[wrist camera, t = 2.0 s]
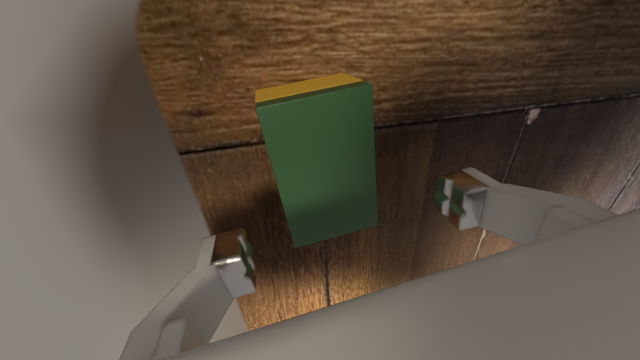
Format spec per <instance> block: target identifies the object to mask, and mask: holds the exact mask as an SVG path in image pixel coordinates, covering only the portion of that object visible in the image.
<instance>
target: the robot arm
mask: <svg viewBox="0 0 640 360" xmlns="http://www.w3.org/2000/svg"><path fill="white" fill-rule="evenodd" d="M435 187H436V188H437V190H436V191H435V193H434V198H433V201H434V204H435V207H436V208H437V210H438V211H439V212H440V213H441V214H442V215H445V216H448V217H449V221H450V222H451V223H452V224H453V225H454V226H455V227H456V228H457V229H458V230H459V231H462V230H465V229H469V228H473V227H477V226H479V227H481V228H483V229H486V230H488V231H490V232H493V233H495V234H497V235H500V236H502V237H504V238H507V239H509V240H511V241H514V242H516V243H519V244H521V245H522V246H518V247H515V248H512V249H509V250H506V251H503V252H499V253H496V254H493V255H490V256H487V257H483V258H480V259H477V260H474V261H471V262H467V263H464V264H461V265H458V266H455V267H451V268H448V269H445V270H442V271H439V272H435V273H432V274H429V275H426V276H423V277H420V278H416V279H413V280H410V281H407V282H404V283H401V284H397V285H394V286H391V287H388V288H385V289H381V290H378V291H375V292H372V293H369V294H366V295H362V296H359V297H356V298H353V299H350V300H346V301H343V302H340V303H337V304H334V305H331V306H327V307H324V308H321V309H318V310H315V311H311V312H308V313H305V314H302V315H299V316H296V317H292V318H289V319H286V320H283V321H280V322H276V323H273V324H270V325H267V326H264V327H261V328H257V329H254V330H251V331H248V332H245V333H242V334H238V335H235V336H232V337H229V338H226V339H222V340H219V341H216V342H213V343H210V344H208V343H209V341H210V339H211V338H212V336H213V334H214V333H215V331H216V329H217V327H218V326H219V324H220V322H221V320H222V319H223V317H224V315H225V313H226V311H227V310H228V308H229V306H230V305H231V303H232V301H233V299H234V298H237V297H240V296H244V295H247V294H250V293H253V292H256V276H255V274H254V269H255V268H256V261H255V254H254V251H253V248H252V245H251V244H250V243H248V235H247V233H246V231H245V229H244V228H241V229H237V230H233V231H228V232H224V233H220V234H217V235H213V236H209V237H205V238H203V239H202V241H201V245H200V249H199V252H198V256H197V260H196V263H195V267H194V270H193V271H190V272H188V274H187V275H186V276H185V277H184V278H183V279H182V280H181V281H180V282H179V283H178V284H177V285H176V286H175V287H174V288H173V289H172V290H171V291H170V292H169V293H168V295H166V296H165V297H164V298H163V300H162V301H161V302H160V303H159V304H158V305H157V306H156V307H155V308H154V309H153V310H152V311H151V312H150V313H149V314H148V315H147V316H146V317H145V318H144V319H143V320H142V321H141V322H140V323H139V324H138V326H136V327H135V329H134V330H133V331H132V332H131V333H130V336H129V338H128V340H127V343H126V345H125V348H124V350H123V352H122V354H121V356H120V359H119V360H640V208H639V209H636V210H633V211H630V212H626V213H623V214H620V215H617V214H615V213H613V212H611V211H609V210H606V209H604V208H602V207H600V206H598V205H596V204H594V203H592V202H590V201H588V200H585V199H583V198H580V197H575V196H569V195H564V194H559V193H554V192H549V191H544V190H538V189H533V188H528V187H523V186H518V185H512V184H507V183H505V184H501V183H500V182H498V181H496V180H494V179H493V178H491V177H489V176H487V175H485V174H484V173H482V172H480V171H478V170H477V169H475V168H472V167H468V168H465V169H462V170H459V171H456V172H452V173H449V174H445V175H441V176H438V177H436V179H435Z"/></svg>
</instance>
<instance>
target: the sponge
mask: <svg viewBox="0 0 640 360" xmlns="http://www.w3.org/2000/svg"><path fill="white" fill-rule="evenodd" d="M255 109H256V113H257V116H258V120H259V123H260V127H261V130H262V134H263V137H264V141H265V144H266V148H267V151H268V155H269V159H270V162H271V166H272V169H273V173H274V176H275V180H276V183H277V187H278V190H279V194H280V197H281V201H282V205H283V208H284V212H285V215H286V219H287V222H288V226H289V229H290V233H291V236H292V240H293V243H294V247H295V248H298V247H302V246H305V245H309V244H313V243H316V242H320V241H323V240H327V239H330V238H334V237H338V236H341V235H345V234H348V233H352V232H356V231H359V230H363V229H366V228H370V227H374V226H377V225H378V219H377V193H376V168H375V143H374V118H373V92H372V84H371V83H369V82H366V81H363V80H361V79H359V78H356V77H353V76H351V75H348V74H345V73H340V74H335V75H330V76H325V77H320V78H315V79H310V80H305V81H300V82H295V83H290V84H285V85H280V86H275V87H270V88H265V89H260V90H256V91H255Z"/></svg>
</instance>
